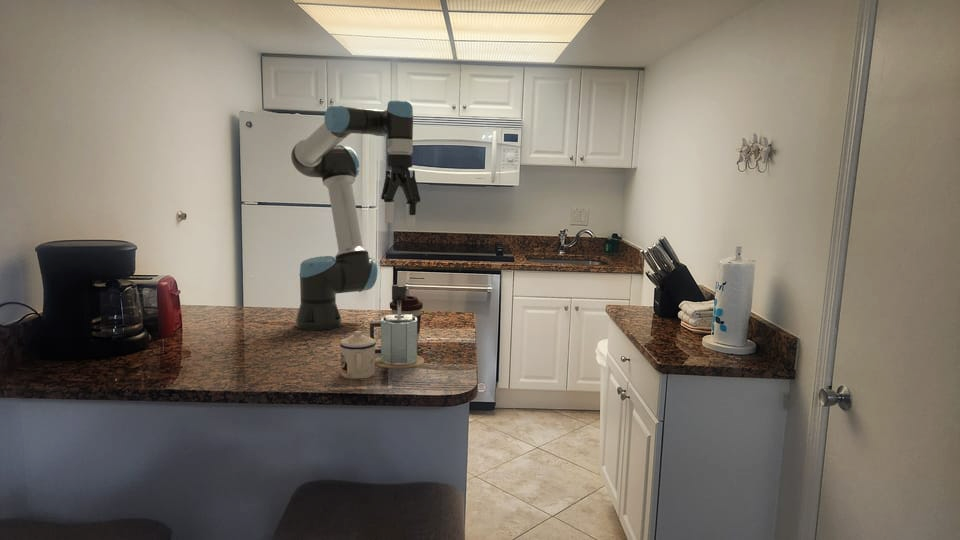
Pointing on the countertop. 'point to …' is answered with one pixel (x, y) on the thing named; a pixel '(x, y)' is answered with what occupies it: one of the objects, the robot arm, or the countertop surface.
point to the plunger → (399, 296)
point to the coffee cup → (409, 309)
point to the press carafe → (397, 339)
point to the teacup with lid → (357, 356)
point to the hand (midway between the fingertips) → (399, 224)
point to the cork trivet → (379, 363)
